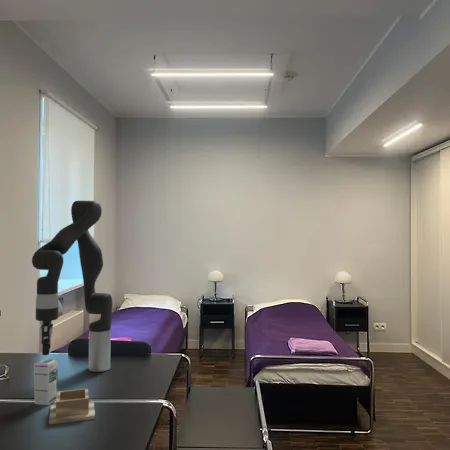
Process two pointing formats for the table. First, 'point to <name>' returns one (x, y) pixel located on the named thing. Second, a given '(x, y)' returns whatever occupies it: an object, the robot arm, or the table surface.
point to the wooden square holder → (72, 407)
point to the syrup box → (45, 381)
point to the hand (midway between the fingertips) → (46, 351)
